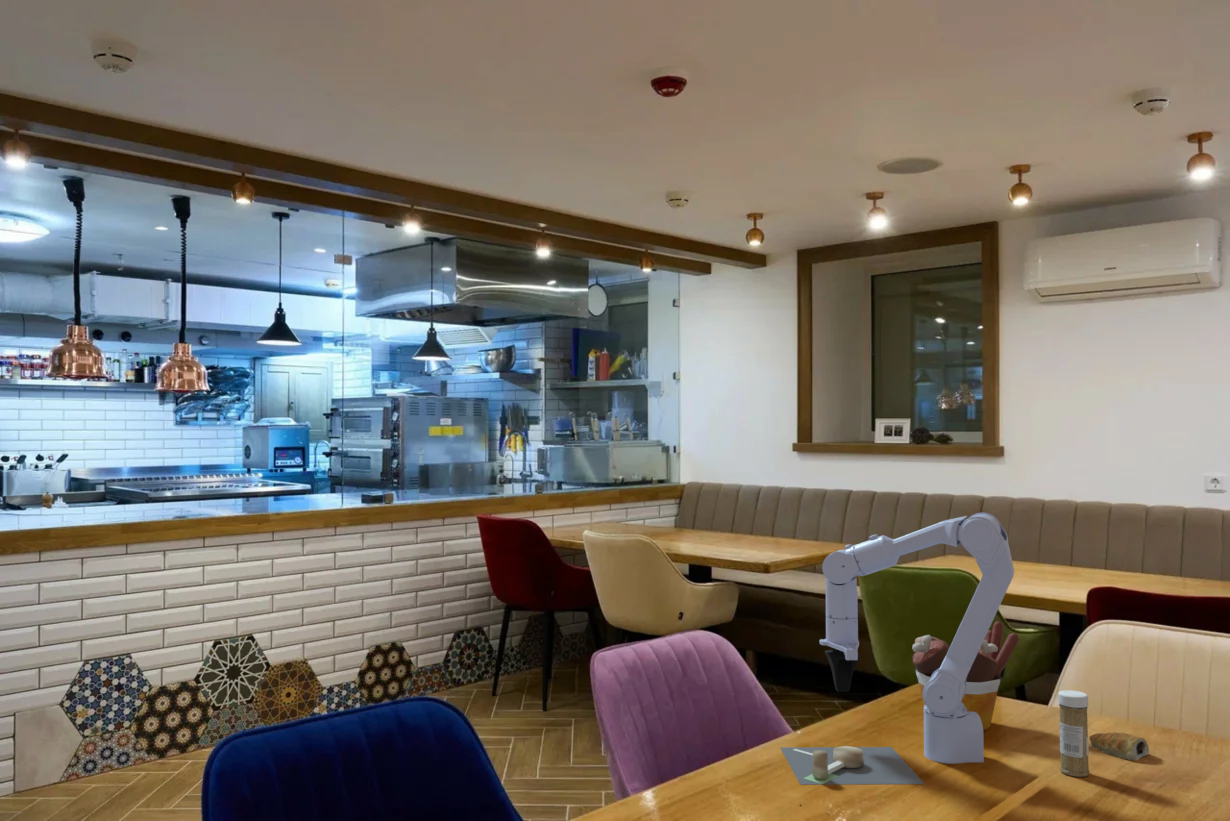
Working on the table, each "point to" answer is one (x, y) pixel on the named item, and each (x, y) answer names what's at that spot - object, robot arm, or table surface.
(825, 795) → the table surface
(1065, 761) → the spice jar
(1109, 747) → the pastry
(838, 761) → the crank handle
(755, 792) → the table surface
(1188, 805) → the table surface
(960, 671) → the robot arm
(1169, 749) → the table surface
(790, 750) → the dial board
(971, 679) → the bucket of meat
